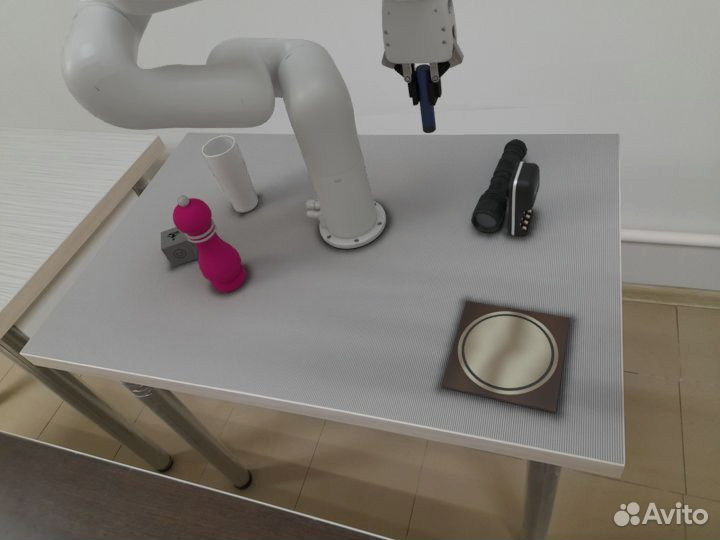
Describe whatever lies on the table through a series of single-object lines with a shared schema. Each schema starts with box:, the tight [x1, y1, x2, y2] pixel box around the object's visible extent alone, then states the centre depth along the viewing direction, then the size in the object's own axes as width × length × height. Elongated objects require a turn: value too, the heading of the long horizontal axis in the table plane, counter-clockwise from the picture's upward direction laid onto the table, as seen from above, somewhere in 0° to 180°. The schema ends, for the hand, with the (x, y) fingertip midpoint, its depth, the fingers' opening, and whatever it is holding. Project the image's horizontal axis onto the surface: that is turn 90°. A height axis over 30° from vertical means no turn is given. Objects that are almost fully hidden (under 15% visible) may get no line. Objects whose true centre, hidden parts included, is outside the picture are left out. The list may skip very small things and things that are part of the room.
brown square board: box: [441, 300, 570, 414], centre depth 74 cm, size 15×15×1 cm
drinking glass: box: [201, 134, 259, 214], centre depth 103 cm, size 7×7×15 cm
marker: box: [415, 63, 437, 134], centre depth 83 cm, size 2×2×11 cm
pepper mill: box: [172, 194, 247, 293], centre depth 88 cm, size 7×7×20 cm
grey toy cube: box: [160, 226, 199, 268], centre depth 100 cm, size 5×5×5 cm
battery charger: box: [507, 160, 541, 236], centre depth 85 cm, size 7×4×11 cm, turn 157°
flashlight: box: [470, 138, 528, 234], centre depth 94 cm, size 5×21×5 cm, turn 155°
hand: (426, 99), depth 83 cm, fingers closed on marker, 2 cm apart
